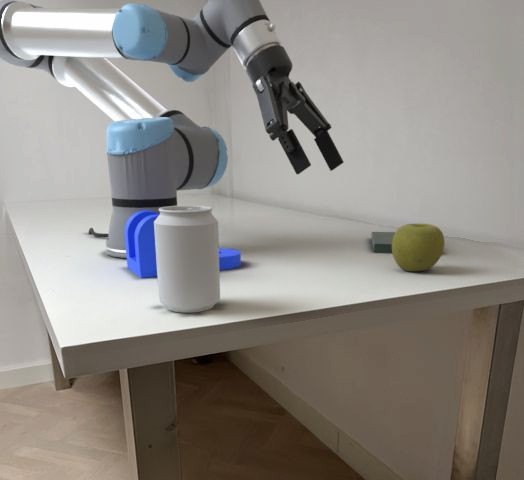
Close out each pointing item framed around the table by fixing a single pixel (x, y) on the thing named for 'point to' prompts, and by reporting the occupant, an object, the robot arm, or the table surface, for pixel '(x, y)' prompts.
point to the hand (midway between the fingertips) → (321, 168)
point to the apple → (417, 246)
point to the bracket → (144, 248)
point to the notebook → (382, 241)
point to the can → (187, 258)
